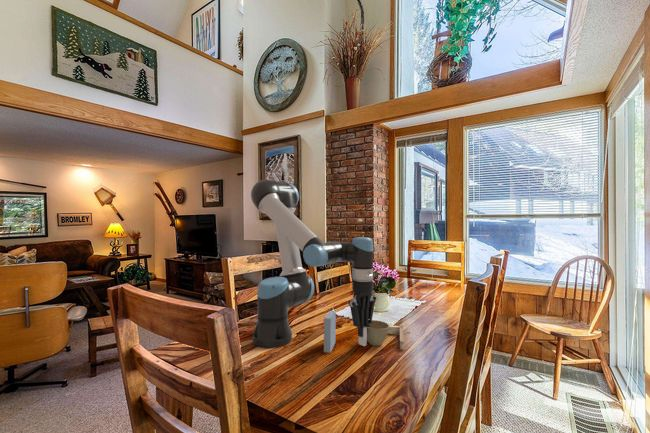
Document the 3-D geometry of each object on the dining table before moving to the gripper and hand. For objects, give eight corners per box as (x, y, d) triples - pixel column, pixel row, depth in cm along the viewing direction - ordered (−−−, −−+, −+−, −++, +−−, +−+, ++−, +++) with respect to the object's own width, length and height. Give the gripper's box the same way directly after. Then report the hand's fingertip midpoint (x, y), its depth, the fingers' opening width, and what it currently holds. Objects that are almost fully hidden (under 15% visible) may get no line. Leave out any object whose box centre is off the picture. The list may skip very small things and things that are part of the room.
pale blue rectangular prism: (323, 352, 105) (324, 318, 105) (329, 341, 114) (329, 310, 114) (330, 352, 105) (330, 318, 105) (335, 342, 113) (335, 311, 113)
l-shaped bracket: (361, 345, 111) (361, 337, 111) (365, 330, 126) (365, 323, 126) (404, 350, 107) (404, 341, 107) (403, 333, 122) (403, 326, 122)
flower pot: (389, 350, 107) (389, 330, 107) (361, 347, 109) (361, 327, 109) (388, 339, 117) (388, 321, 117) (363, 336, 119) (363, 319, 119)
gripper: (358, 283, 101) (358, 353, 101) (382, 279, 109) (382, 343, 109) (342, 280, 107) (342, 346, 106) (366, 276, 115) (366, 337, 115)
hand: (362, 344), depth 108 cm, fingers closed
